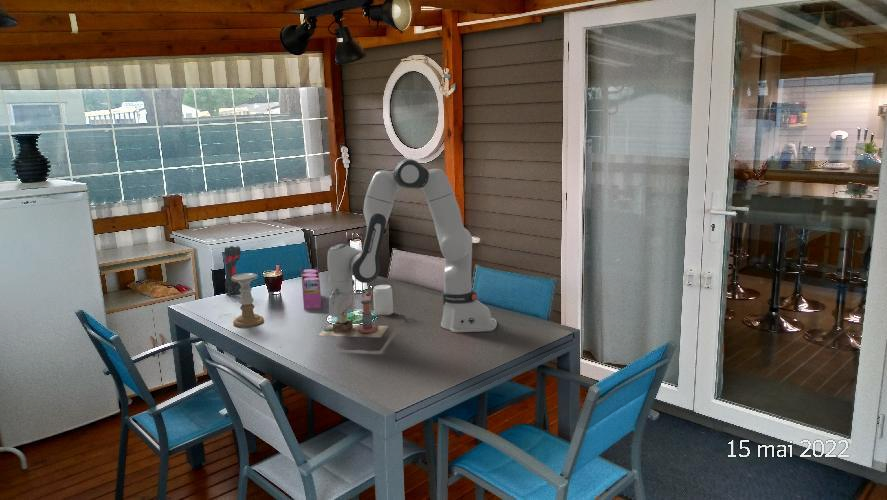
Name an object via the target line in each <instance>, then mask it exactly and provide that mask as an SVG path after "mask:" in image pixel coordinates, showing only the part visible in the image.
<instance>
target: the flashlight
mask: <svg viewBox="0 0 887 500" xmlns="http://www.w3.org/2000/svg"><path fill="white" fill-rule="evenodd" d="M241 255H242V252H241V247H240V246H239V245H237V246H234V245H233V246H229V247H227V246H225V248H224V259H225V262H224V263H225V271H226V281H225V282H224V286H225V294H226V295H230V296H231V295H233V294H235V295H239V294H241V292H240V291H239V290H240V288H241V285H240V284H239V283H238V282H236V281H232V280H231V277H232V276H234V275H237V267H236V266H237V262H239V260H240V259H241Z"/></svg>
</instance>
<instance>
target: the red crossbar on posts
mask: <svg viewBox="0 0 887 500" xmlns="http://www.w3.org/2000/svg"><path fill="white" fill-rule="evenodd" d="M360 303H361V304H362V309H363V311H362V312H361V316H362V324H361V325H362V326H359V327H358V328H357V331H358V332H360V333H373V332H376V331H377V330H378V326H379V325H375V324H373V317H372V315H373V314H372V311H371V308H372V294H371V292H366V293H365V296H364V299H363V300H361V301H360Z"/></svg>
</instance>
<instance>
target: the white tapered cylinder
mask: <svg viewBox="0 0 887 500" xmlns="http://www.w3.org/2000/svg"><path fill="white" fill-rule="evenodd" d="M372 296H373V297H372V298H373V313H374V315H376V316H389V315H390V316H391V315H392V314H393V313H394V303H393V301H394V300H393V288H392V286H391V285H389V284H379V285H375V286H374V287H373V290H372Z"/></svg>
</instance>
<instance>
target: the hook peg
mask: <svg viewBox="0 0 887 500" xmlns="http://www.w3.org/2000/svg"><path fill="white" fill-rule="evenodd" d="M342 317H343V322H339V324H341V325H347V320H348V318H347V317H348V315H347V316H346V312H342Z"/></svg>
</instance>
